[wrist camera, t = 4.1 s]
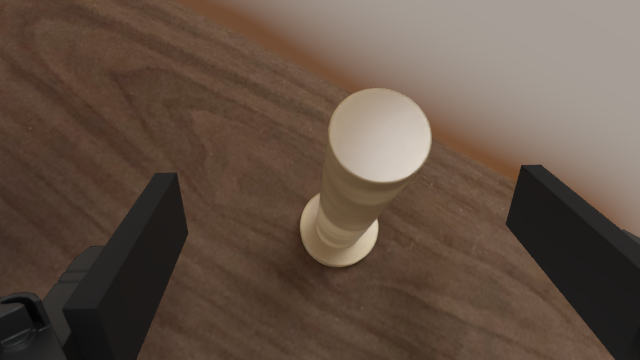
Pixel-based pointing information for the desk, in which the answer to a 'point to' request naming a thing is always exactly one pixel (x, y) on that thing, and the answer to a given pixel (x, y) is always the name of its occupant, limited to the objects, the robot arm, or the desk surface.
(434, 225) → the desk surface
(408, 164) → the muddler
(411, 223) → the desk surface
